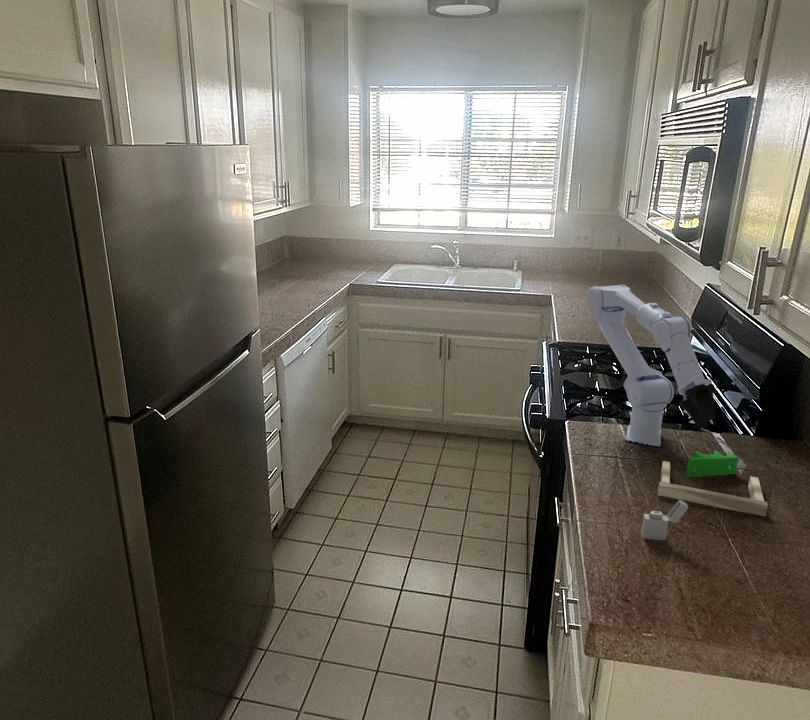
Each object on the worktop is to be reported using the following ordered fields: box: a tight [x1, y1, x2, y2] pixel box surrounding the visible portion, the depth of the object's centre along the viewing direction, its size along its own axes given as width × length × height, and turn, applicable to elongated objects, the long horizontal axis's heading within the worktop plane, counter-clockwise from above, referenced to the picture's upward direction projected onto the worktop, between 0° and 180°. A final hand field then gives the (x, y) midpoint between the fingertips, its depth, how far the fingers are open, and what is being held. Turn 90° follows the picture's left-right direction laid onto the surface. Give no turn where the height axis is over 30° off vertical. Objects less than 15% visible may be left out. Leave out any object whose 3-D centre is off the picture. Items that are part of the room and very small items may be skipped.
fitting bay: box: [657, 460, 769, 517], centre depth 129 cm, size 12×20×2 cm, turn 67°
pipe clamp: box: [685, 449, 739, 478], centre depth 136 cm, size 11×4×5 cm, turn 96°
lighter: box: [640, 499, 689, 541], centre depth 113 cm, size 7×2×8 cm, turn 81°
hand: (706, 423), depth 132 cm, fingers open, 7 cm apart
